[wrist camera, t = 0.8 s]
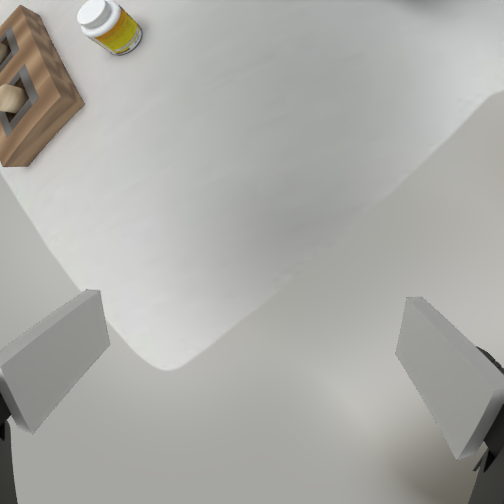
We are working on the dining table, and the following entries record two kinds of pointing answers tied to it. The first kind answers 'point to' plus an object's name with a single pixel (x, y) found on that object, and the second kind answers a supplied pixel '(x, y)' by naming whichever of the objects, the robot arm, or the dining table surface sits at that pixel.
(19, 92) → the short peg
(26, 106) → the socket block
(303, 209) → the dining table surface
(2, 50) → the beige round peg
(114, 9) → the supplement bottle
